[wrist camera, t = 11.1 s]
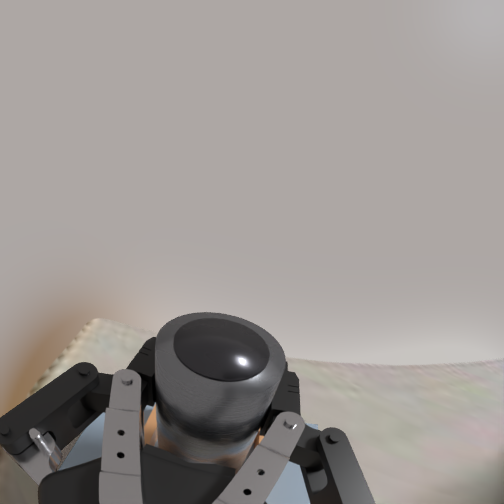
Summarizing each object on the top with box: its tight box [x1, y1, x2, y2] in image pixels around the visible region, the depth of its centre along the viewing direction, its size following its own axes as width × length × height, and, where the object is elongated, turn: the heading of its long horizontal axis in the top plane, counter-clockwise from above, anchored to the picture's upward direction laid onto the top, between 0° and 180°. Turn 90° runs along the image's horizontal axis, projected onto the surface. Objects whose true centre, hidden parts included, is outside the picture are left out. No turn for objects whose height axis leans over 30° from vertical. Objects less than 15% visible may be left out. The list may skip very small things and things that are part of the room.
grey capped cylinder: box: [155, 312, 286, 474], centre depth 12 cm, size 5×5×9 cm
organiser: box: [58, 402, 318, 504], centre depth 14 cm, size 18×13×3 cm
